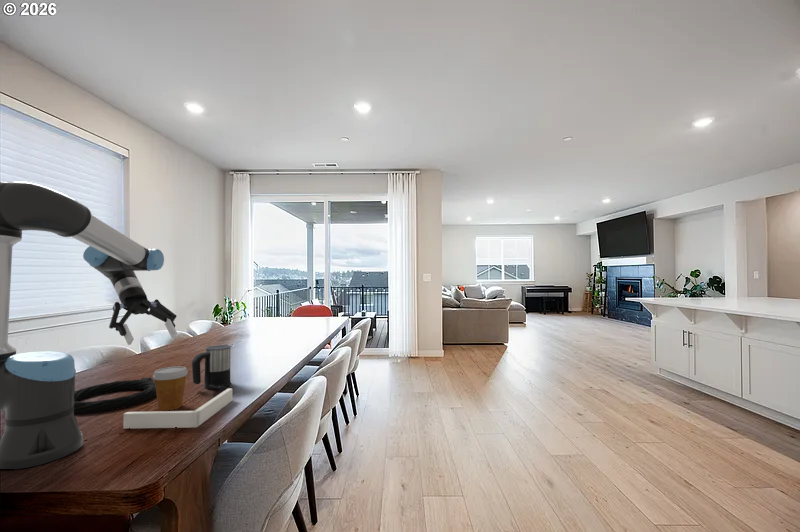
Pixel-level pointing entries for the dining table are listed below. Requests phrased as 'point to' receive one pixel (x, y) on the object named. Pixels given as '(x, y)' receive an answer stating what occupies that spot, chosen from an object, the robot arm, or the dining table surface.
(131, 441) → the dining table surface
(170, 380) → the disposable coffee cup
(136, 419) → the bracket
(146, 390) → the cable lock
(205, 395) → the dining table surface
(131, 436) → the dining table surface
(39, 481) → the dining table surface
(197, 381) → the milk frother
